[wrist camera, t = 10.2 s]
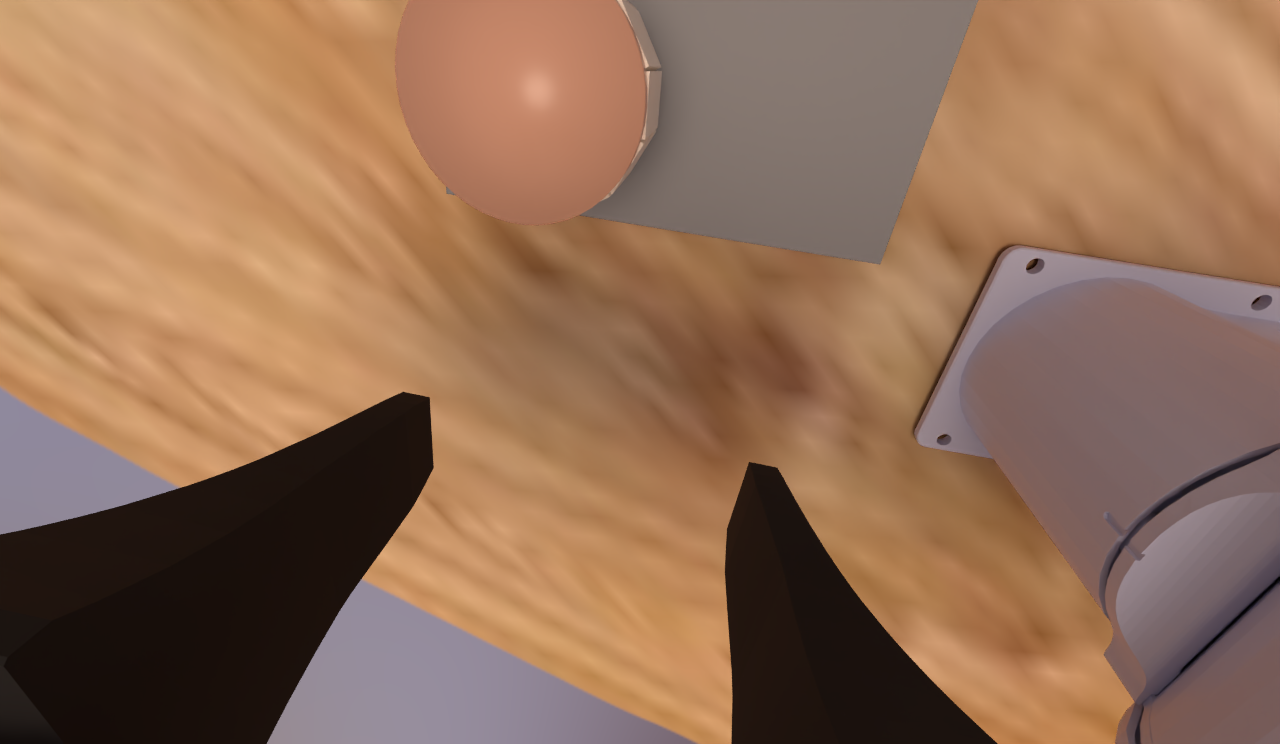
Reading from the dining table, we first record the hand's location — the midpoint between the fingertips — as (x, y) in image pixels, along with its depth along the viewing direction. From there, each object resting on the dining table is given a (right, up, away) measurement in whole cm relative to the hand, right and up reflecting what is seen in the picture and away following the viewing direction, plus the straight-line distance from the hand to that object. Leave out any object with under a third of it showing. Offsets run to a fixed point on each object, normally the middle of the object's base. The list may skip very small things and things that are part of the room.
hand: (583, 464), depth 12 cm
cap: (-1, +9, +2) cm, 10 cm away
